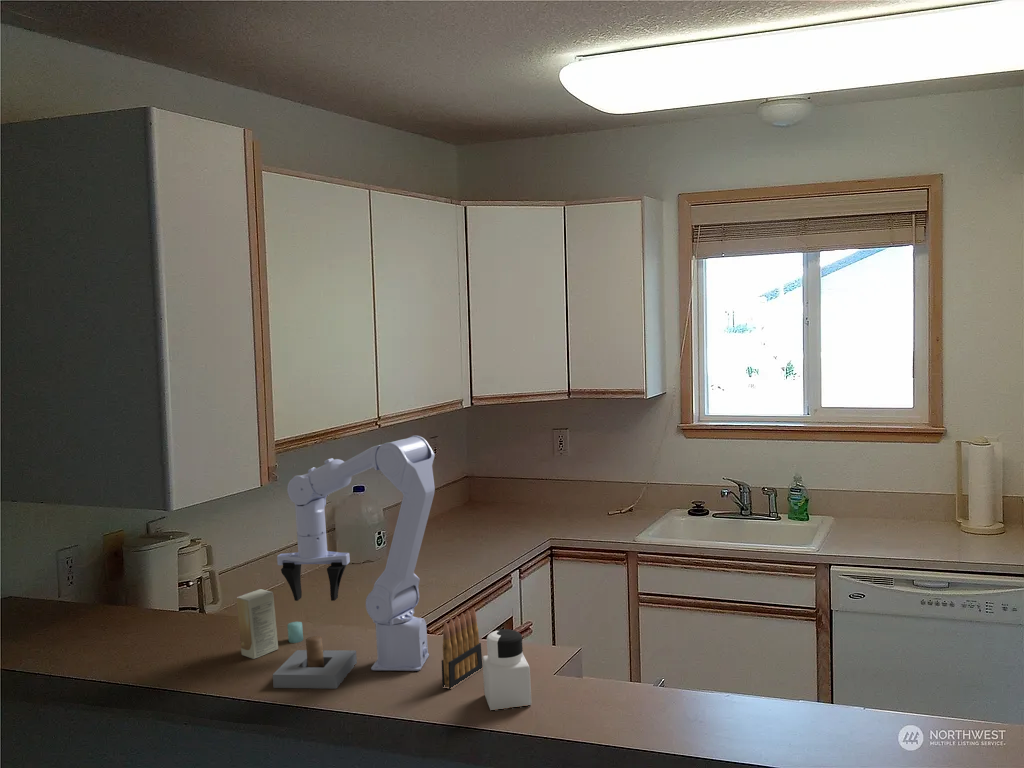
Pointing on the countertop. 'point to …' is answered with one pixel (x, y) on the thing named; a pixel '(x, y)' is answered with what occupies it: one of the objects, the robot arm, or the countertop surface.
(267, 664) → the countertop surface
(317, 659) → the long walnut pin
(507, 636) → the medicine bottle
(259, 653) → the skincare box
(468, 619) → the ammunition clip
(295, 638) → the short teal pin
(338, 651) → the slate hole block
